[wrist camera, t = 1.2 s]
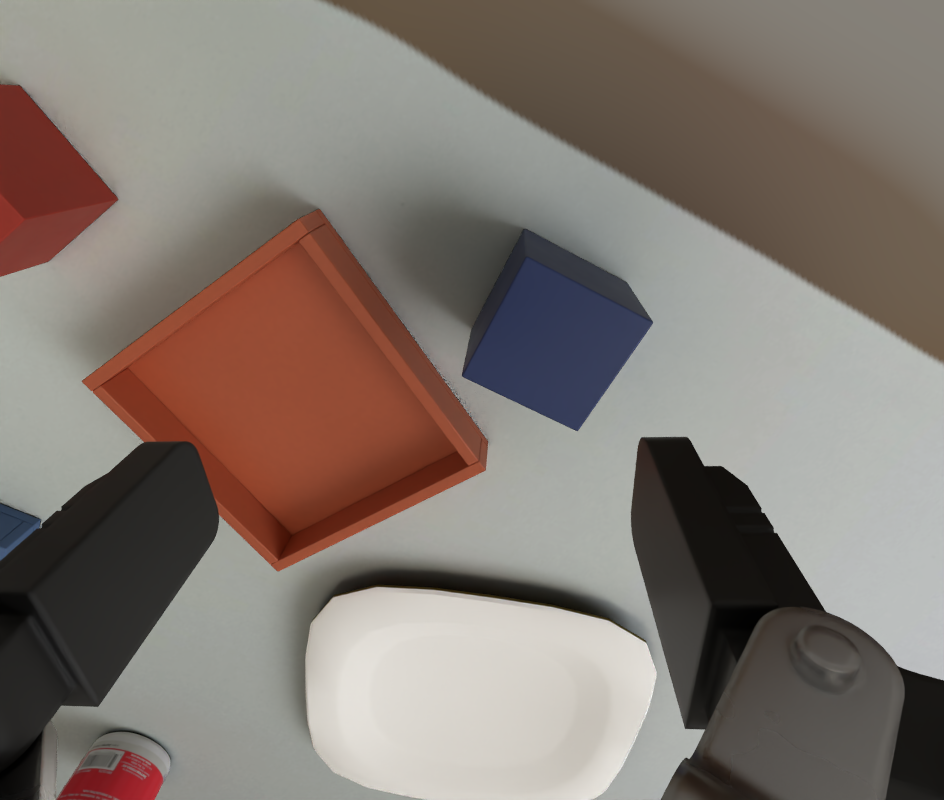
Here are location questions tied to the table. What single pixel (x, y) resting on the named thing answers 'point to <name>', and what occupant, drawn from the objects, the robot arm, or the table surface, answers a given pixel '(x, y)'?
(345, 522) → the terracotta tray
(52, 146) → the red block
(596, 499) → the table surface
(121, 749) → the pill bottle
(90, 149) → the table surface
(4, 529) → the blue tray
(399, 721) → the plate
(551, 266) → the navy block
